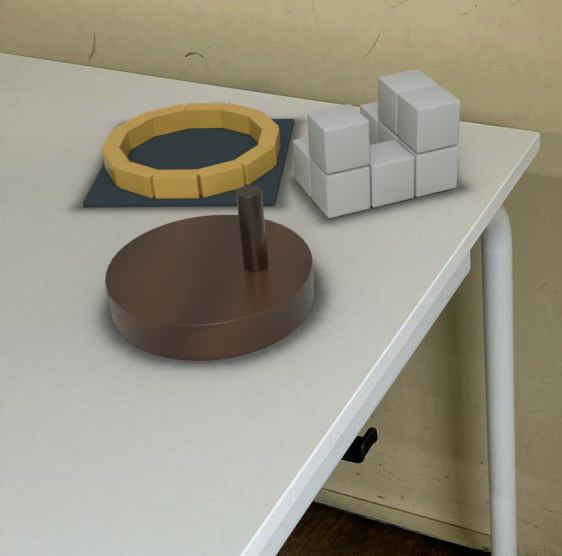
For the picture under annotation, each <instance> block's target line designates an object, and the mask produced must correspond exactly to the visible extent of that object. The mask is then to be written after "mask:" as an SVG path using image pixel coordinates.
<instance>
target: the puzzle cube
mask: <svg viewBox="0 0 562 556" xmlns="http://www.w3.org/2000/svg"><path fill="white" fill-rule="evenodd" d="M460 116H461V100H460V99H459V98H458V97H456V96H455V95H453V93H451V92H450V91H448V90H447V89H446V88H444V87H443V86H441V85H440V84H438V83H437V82H436V81H434V80H433V78H431V77H430V76H428V75H427V74H426V73H423V72H422V71H421V70H420V69H418V68H414V69H409V70H405V71H400V72H396V73H391V74H386V75H380V76H378V78H377V100H376V101H372V102H367V103H362V104H360V106H359V110H358V109H357V108H356V107H354V106H353V105H352V104H351V103H346V104H343V105H338V106H333V107H328V108H324V109H319V110H314V111H309V112H307V113H306V119H307V134H308V135H307V136H305V137H301V138H296V139H293V140H292V150H293V165H294V166H293V167H294V168H293V169H294V179H295V181H296V182H297V184H298V185H300V187H301V188H302V189H303V190H304V192H305V193H306V195H308V197H309V198H311V200H312V201H313V202H314V204H316V206H317V207H318V208H319V210H320V211H321V212H322V213H323V214H324V215H325V217H327V219H333V218H336V217H341V216H345V215H349V214H354V213H358V212H362V211H366V210H369V209H370V208H371V207H372V208H379V207H382V206H387V205H390V204H394V203H395V204H396V203H399V202H403V201H407V200H411V199H414V198H415V197H416V198H420V197H423V196H428V195H432V194H436V193H441V192H444V191H449V190H453V189H456V188H457V186H458V167H459V146H458V144H459V142H460V121H461V120H460V119H461V117H460Z"/></svg>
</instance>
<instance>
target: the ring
mask: <svg viewBox="0 0 562 556" xmlns="http://www.w3.org/2000/svg"><path fill="white" fill-rule="evenodd" d="M271 119H272V118H270V116H268V115H267V114H266V113H265V112H263V111H261V110H259V109H257V108H253V107H247V106H244V105H239V104H235V103H230V102H227V103H226V102H223V101H222V102H187V103H185V105H184V103H179V104H175V105H171V106H166V107H162V108H157V109H153V110H149V111H145V112H144V114H143V113H140V114H139V115H137V116H134V117H133V118H130V119H129V120H128V121H126V122H124V123H122V124H120V125H118V126H116V127H115V128H113V129H114V130H111V131H110V133H109V135H108V137H107V139H106V141H105V142H104V144H103V146H102V148H101V154H102V158H103V159H102V160H103V165H104V164H105V170H106V171H107V172H108V174H109V175H110V177H111V178H112V180H113V181H114V182H115V184H116V185H117V186H119V187H120V188H121V189H124V190H127V191H130V192H134V193H137V194H140V195H143V196H146V197H150V198H153V197H154V196H155V198H156V199H179V198H199V197H200V195H202V196H203V197H204V198H205V197H208V196H212V195H216V194H220V193H223V192H227V191H231V190H235V189H239V188H240V187H243V186H245V184H246V185H249V184H251V183H252V182H254V181H255V180H257V179H258V178H260V177H261V176H263V175H264V174H266V173H267V172H269V171H270V170H272V169H273V168H274V166H276V164H277V160H278V156H279V152H280V148H281V144H280V131H279V127H278V125H277V124H276V123H275V122H274V121H273V120H271ZM189 128H225V129H229V130H233V131H237V132H241V133H245V134H249V135H251V136H252V137H253V138H254V139H255V140H256V141H257V142H258V145H257V146H255V147H254V148H252V149H251V150H249V151H248V152H246V153H244V154H243V155H241V156H240V157H238V158H237V159H235V160H232V161H228V162H224V163H220V164H217V165H213V166H209V167H205V168H201V169H192V170H157V169H154V168H150V167H147V166H143V165H140V164H137V163H133V162H130V161H129V160H128V158H127V156H128V155H129V153H130V151H131V150H132V149H134V148H135V147H137V146H139V145H141V144H142V143H144V142H146V141H148V140H149V139H151V138H153V137H155V136H159V135H164V134H168V133H172V132H176V131H180V130H184V129H189Z"/></svg>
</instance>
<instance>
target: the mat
mask: <svg viewBox="0 0 562 556" xmlns="http://www.w3.org/2000/svg"><path fill="white" fill-rule="evenodd" d="M270 119H271V120H273V121H274V122H275V123H276V124H277V125H278V127H279V131H280V144H281V148H280V152H279V156H278V160H277V164H276V166H274V168H273V169H272V170H270V171H269V172H267V173H266V174H264V175H263V176H261V177H260V178H258V179H257V180H255V181H254V182H252V183H251V184H249V185H254V186H258V187H260V188H261V189H262V197H263V206H275V205H276V201H277V197H278V193H279V187H280V184H281V183H280V182H281V180H282V175H283V171H284V167H285V161H286V158H287V154H288V150H289V145H290V141H291V137H292V132H293V129H294V123H295V118H270ZM257 145H258V142H257V141H256V140H255V139H254V138H253V137H252V136H251V135H249V134H245V133H241V132H237V131H233V130H229V129H225V128H189V129H184V130H180V131H176V132H172V133H168V134H164V135H159V136H155V137H153V138H151V139H149V140H148V141H146V142H144V143H142V144H141V145H139V146H137V147H135V148H134V149H132V150H131V151H130V153H129V155H128V156H127V158H128V160H129V161H130V162H133V163H137V164H140V165H143V166H147V167H150V168H154V169H157V170H192V169H201V168H205V167H209V166H213V165H217V164H220V163H224V162H228V161H232V160H235V159H237V158H238V157H240V156H241V155H243V154H244V153H246V152H248V151H249V150H251V149H252V148H254V147H255V146H257ZM245 186H247V185H246V184H245ZM236 191H237V189H235V190H231V191H227V192H223V193H220V194H216V195H212V196H208V197H205V198H204V197H203V196H202V195H200V197H199V198H179V199H156V198H155V196H154V197H153V198H150V197H146V196H143V195H140V194H137V193H134V192H130V191H127V190H124V189H121V188H120V187H119V186H117V185H116V184H115V182H114V181H113V180H112V178H111V177H110V175H109V174H108V172H107V171H106V170H105V164H104V163H103V165H102V166H101V168H100V170H99V172H98V174H97V176H96V178H95V179H94V181H93V182H92V185H91V187H90V189H89V190H88V192H87V194H86V196H85V197H84V200H83V201H82V206H83V207H86V208H87V207H88V208H92V207H93V208H94V207H95V208H96V207H192V206H193V207H200V206H202V207H207V206H208V207H210V206H211V207H213V206H215V207H216V206H218V207H219V206H237V198H236Z"/></svg>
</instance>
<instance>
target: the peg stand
mask: <svg viewBox="0 0 562 556" xmlns="http://www.w3.org/2000/svg"><path fill="white" fill-rule="evenodd" d="M236 198H237V205H236V206H237V214H211V215H210V214H209V215H199V216H195V217H188V218H184V219H179V220H174V221H172V222H167V223H165V224H162V225H160V226H157V227H154V228H152V229H150V230H148V231H146V232H143V233H142V234H141V233H140V235H138V236H137V237H134V238H133V239H131V240H130V241H129V242H128V243H126V244H124V246H122V247H121V248H120V249H119V250H118V251H117V252H116V254H114V256H113V257H112V258H111V260H110V262H109V264H108V266H107V269H106V272H105V278H104V283H105V289H106V293H107V298H108V303H109V308H110V312H111V317H112V321H113V324H114V326H115V328H116V329H117V331H118V333H119V334H120V335H121V336H122V337H123V338H124V339H125V340H126V341H127V342H128V343H130V344H132V345H133V346H135V347H136V348H139V349H141V350H143V351H145V352H148V353H150V354H152V355H153V354H154V355H156V356H160V357H164V358H169V359H176V360H184V361H185V360H186V361H210V360H212V361H213V360H221V359H228V358H233V357H238V356H242V355H246V354H250V353H252V352H255V351H259V350H260V349H263V348H266V347H268V346H270V345H273V344H274V343H277V342H278V341H280V340H282V339H284V338H285V337H287V336H288V335H290V334H291V333H292V332H293V331H295V330H296V329H297V328H298V327H299V326H300V325H302V323H304V321H305V319H306V318H307V317H308V315H309V314H310V312H311V309H312V308H313V304H314V300H315V279H314V278H315V277H314V263H313V262H314V261H313V255H312V251H311V249H310V247H309V245H308V244H307V242H306V241H305V240H304V238H303V237H302V236H300V234H298V233H297V232H295V231H294V230H292V229H291V228H289V227H287V226H285V225H283V224H281V223H278V222H275V221H273V220H269V219H265V211H264V210H265V209H264V205H263V197H262V189H261V188H260V187H258V186H254V185H247V186H243V187H240V188H239V189H237V191H236Z"/></svg>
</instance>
